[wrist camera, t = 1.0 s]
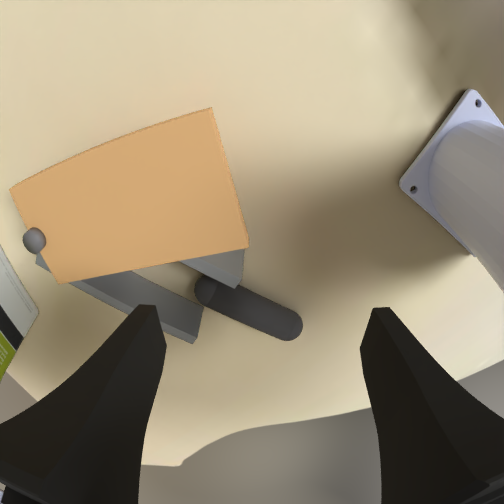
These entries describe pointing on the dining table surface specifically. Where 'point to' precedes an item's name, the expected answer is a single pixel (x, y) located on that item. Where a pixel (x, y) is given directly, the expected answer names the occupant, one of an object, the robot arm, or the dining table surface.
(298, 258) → the dining table surface
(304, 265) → the dining table surface
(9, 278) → the tea box
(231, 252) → the grey angled bars
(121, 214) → the cover
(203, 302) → the dark grey rounded rod
